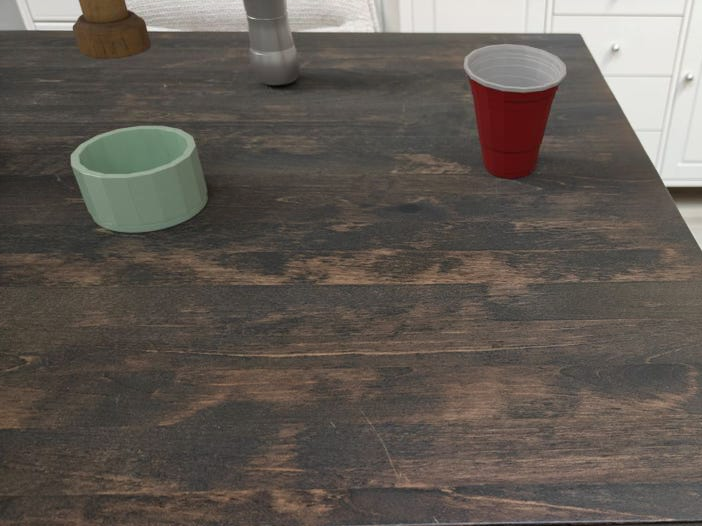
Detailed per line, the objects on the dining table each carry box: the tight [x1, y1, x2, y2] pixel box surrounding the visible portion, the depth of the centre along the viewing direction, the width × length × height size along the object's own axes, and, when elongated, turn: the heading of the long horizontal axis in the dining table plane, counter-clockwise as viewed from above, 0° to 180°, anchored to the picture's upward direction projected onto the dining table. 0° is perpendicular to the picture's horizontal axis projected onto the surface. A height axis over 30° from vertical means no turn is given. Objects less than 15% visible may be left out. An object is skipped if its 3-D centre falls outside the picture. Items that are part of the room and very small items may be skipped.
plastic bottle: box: [242, 0, 301, 86], centre depth 97 cm, size 6×7×20 cm
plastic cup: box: [463, 43, 567, 179], centre depth 81 cm, size 11×11×12 cm
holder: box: [70, 125, 209, 234], centre depth 76 cm, size 12×12×6 cm
